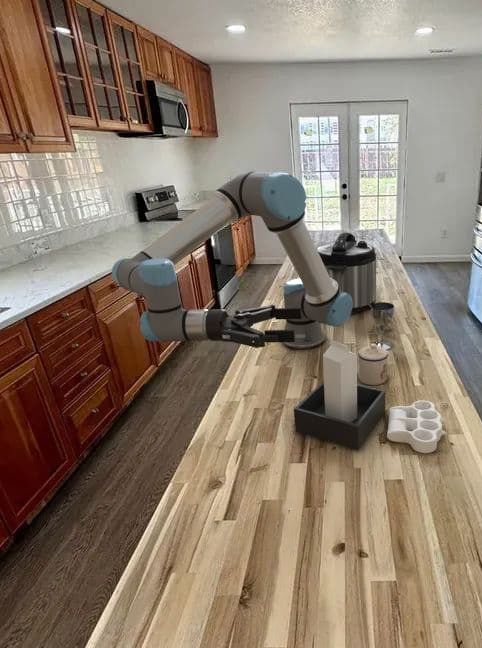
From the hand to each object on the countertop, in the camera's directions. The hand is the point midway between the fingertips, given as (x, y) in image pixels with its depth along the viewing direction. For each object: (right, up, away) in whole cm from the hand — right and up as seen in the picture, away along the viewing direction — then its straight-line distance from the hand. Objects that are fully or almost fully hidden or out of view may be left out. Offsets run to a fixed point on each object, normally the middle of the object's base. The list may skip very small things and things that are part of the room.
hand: (298, 324), depth 103 cm
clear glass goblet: (+25, +1, +66) cm, 71 cm away
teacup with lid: (+20, -15, +33) cm, 42 cm away
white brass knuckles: (+30, -27, +8) cm, 41 cm away
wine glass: (+25, -5, +54) cm, 59 cm away
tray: (+10, -25, +12) cm, 30 cm away
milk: (+10, -24, +11) cm, 29 cm away
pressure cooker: (+12, +13, +92) cm, 94 cm away
